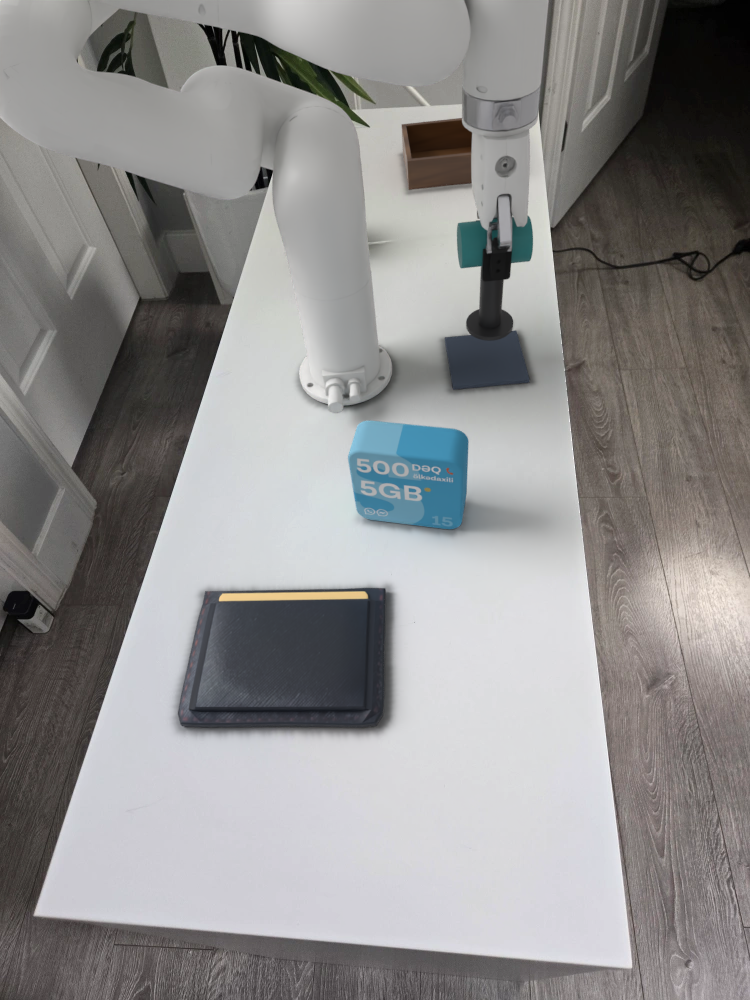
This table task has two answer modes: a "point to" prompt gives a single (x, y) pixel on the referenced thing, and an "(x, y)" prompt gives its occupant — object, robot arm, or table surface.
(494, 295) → the mallet
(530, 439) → the table surface
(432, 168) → the open wooden box
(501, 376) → the mat
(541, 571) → the table surface
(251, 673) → the wallet
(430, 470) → the data package
